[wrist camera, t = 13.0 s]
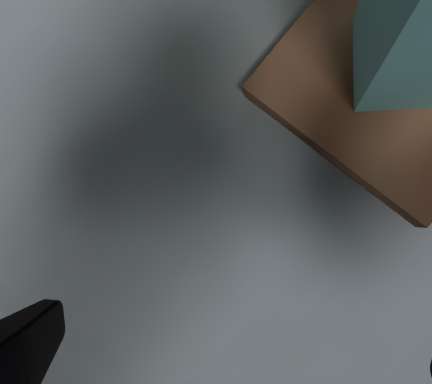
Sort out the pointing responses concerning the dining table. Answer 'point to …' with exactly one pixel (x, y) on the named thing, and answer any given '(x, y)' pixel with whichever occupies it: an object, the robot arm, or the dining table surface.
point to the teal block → (392, 55)
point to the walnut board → (345, 111)
